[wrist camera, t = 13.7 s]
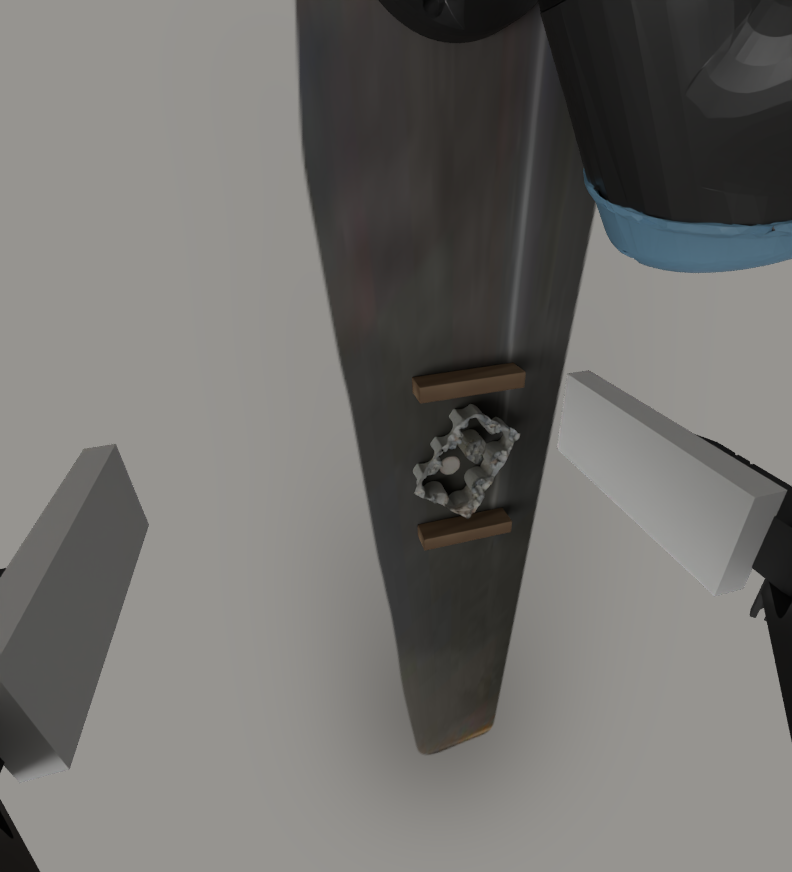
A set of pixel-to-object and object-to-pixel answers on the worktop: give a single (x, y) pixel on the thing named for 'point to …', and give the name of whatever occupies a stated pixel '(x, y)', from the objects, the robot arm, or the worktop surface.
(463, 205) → the worktop surface
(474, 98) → the worktop surface
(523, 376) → the parallel wooden rails
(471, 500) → the egg carton
